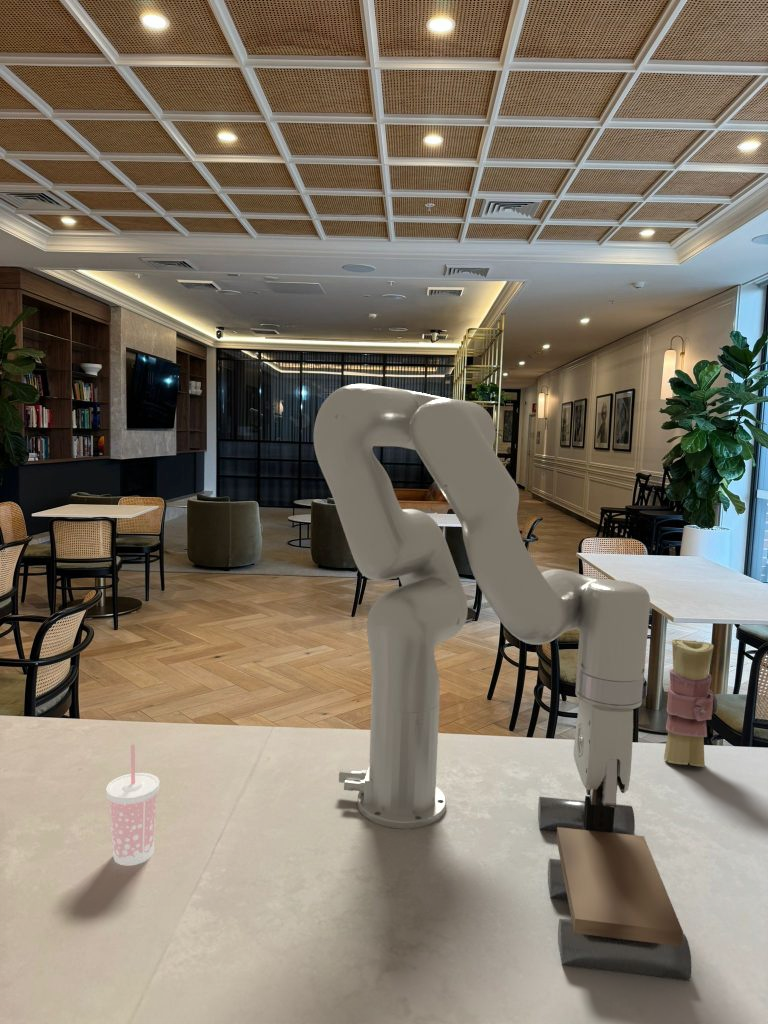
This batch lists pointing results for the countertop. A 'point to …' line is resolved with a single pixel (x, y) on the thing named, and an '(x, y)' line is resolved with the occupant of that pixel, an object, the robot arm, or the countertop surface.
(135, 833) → the beverage cup
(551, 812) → the cylinder
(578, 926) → the slab
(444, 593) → the robot arm
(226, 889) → the countertop surface
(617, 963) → the roller
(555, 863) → the roller front
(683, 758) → the scroll
